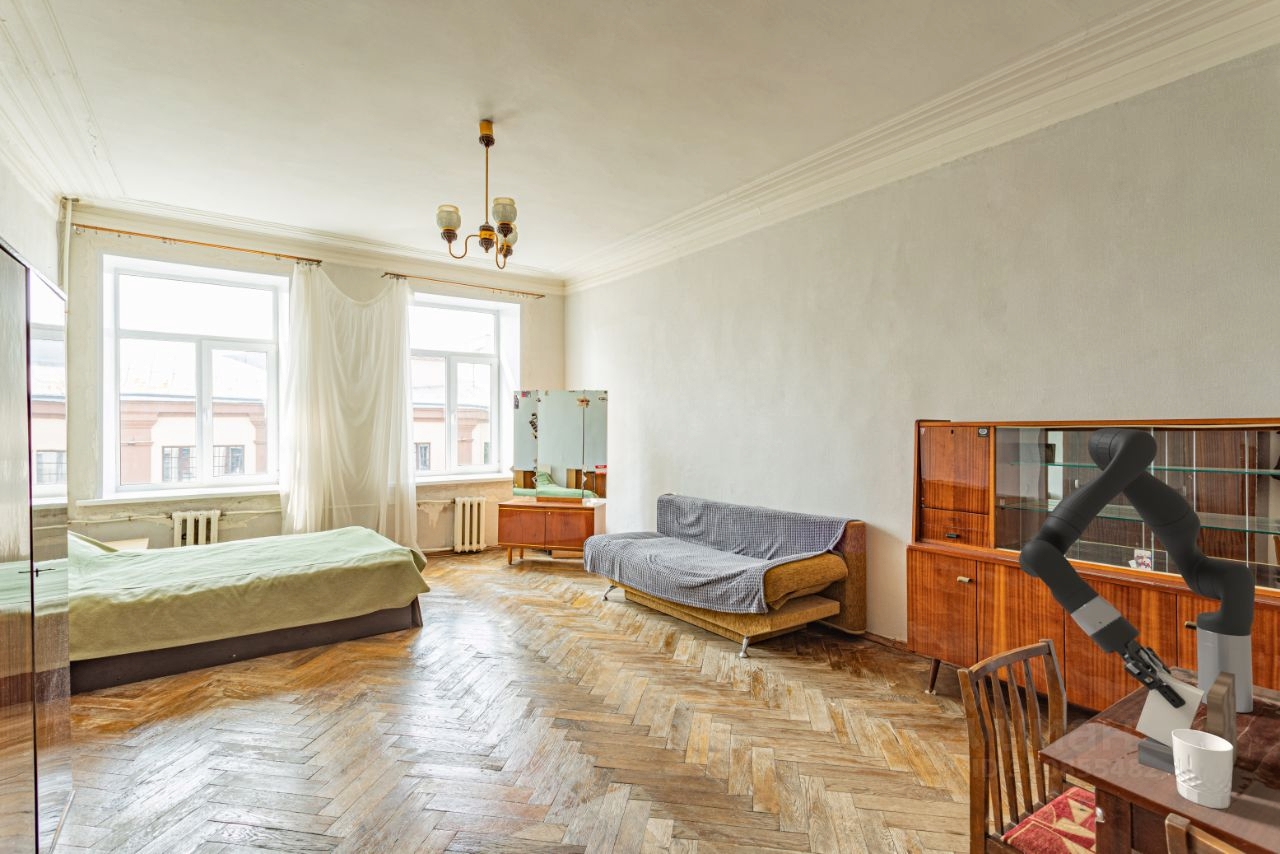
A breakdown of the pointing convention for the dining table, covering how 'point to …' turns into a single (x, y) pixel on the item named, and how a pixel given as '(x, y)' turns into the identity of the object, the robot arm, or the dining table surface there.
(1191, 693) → the plain white rectangular block
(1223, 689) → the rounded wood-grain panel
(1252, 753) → the dining table surface
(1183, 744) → the white cup
